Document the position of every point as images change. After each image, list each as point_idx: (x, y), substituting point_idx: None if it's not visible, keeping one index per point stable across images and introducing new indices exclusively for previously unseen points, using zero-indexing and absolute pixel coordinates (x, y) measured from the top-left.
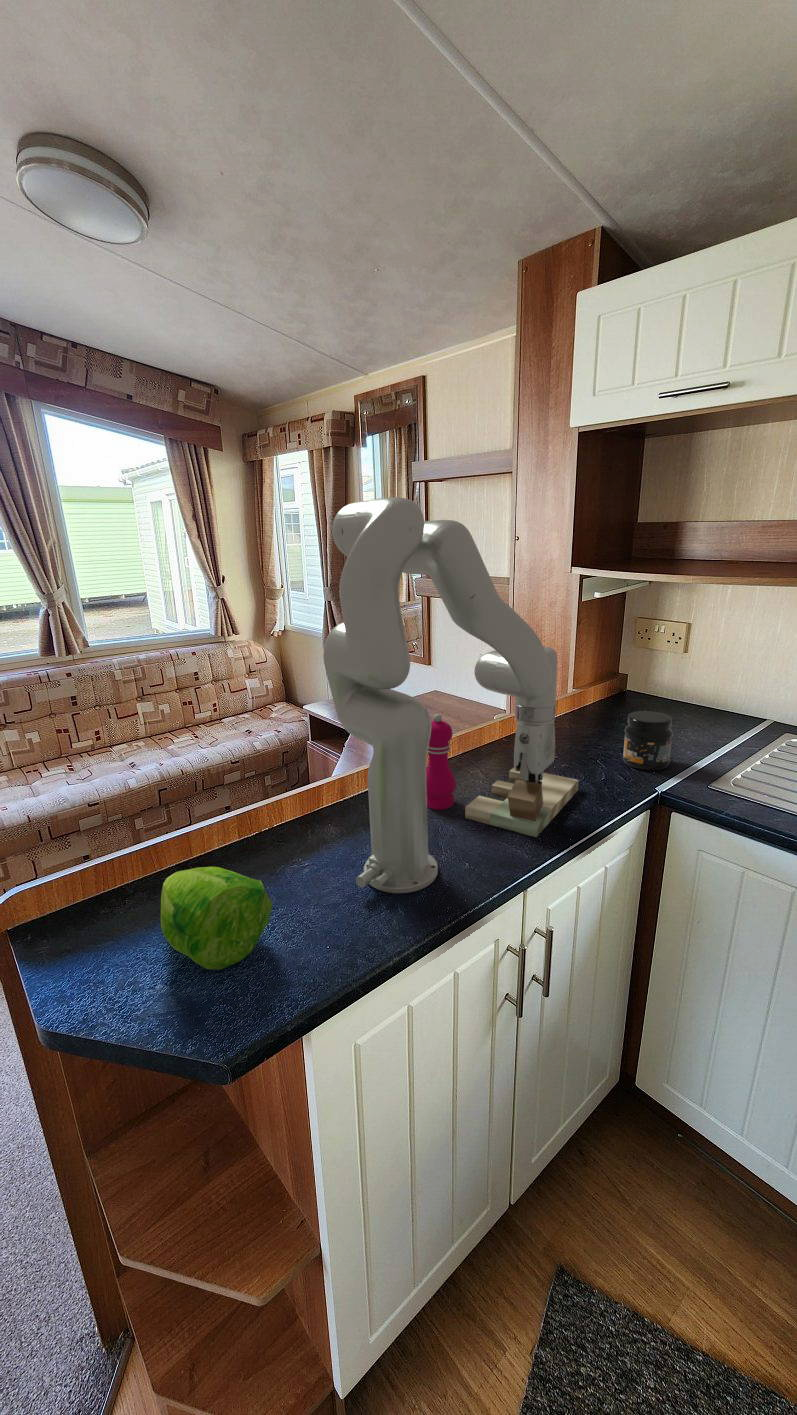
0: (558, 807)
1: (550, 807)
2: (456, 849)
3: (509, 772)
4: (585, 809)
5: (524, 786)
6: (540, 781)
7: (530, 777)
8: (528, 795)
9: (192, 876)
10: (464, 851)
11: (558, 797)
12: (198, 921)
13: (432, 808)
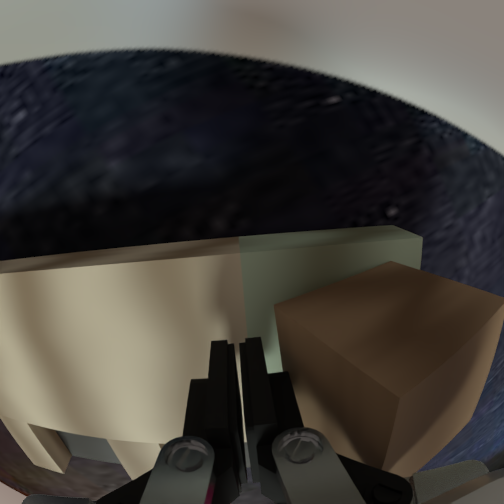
0: (121, 253)
1: (204, 269)
2: (495, 356)
3: (64, 469)
4: (41, 166)
5: (422, 442)
6: (213, 435)
7: (409, 490)
8: (479, 362)
9: None
10: (500, 340)
11: (74, 284)
12: None
13: None
